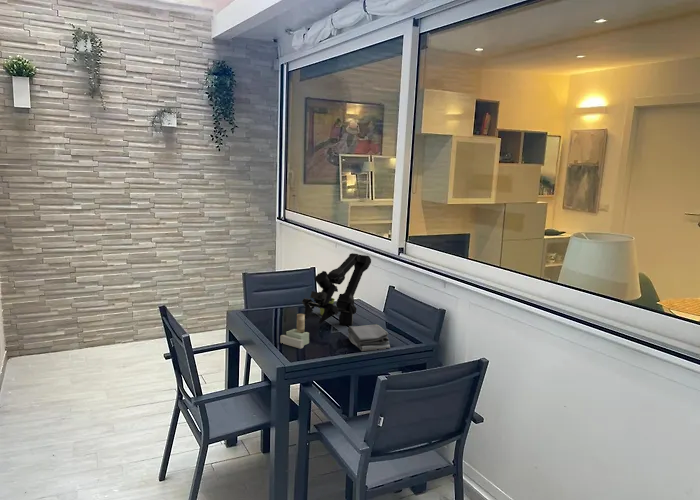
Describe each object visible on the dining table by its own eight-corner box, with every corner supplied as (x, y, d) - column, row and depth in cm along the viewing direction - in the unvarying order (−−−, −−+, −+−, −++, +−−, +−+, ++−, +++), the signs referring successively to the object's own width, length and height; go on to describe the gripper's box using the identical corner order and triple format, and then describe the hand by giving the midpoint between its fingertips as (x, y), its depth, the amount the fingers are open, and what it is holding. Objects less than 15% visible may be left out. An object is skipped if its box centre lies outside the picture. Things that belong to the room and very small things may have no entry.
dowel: (305, 341, 233) (305, 313, 231) (303, 343, 230) (303, 316, 228) (297, 340, 234) (298, 313, 232) (295, 342, 230) (295, 315, 228)
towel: (376, 337, 243) (377, 321, 242) (391, 349, 225) (391, 333, 224) (346, 339, 238) (346, 323, 237) (359, 352, 221) (359, 335, 220)
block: (294, 339, 235) (294, 328, 234) (309, 343, 230) (309, 332, 229) (286, 342, 230) (286, 331, 230) (301, 346, 225) (301, 335, 225)
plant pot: (315, 315, 275) (315, 300, 273) (321, 311, 284) (321, 296, 282) (331, 317, 272) (331, 302, 271) (336, 313, 281) (337, 298, 280)
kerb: (283, 342, 231) (283, 334, 231) (303, 347, 224) (303, 340, 224) (280, 343, 230) (280, 335, 229) (300, 348, 223) (300, 341, 222)
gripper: (304, 281, 244) (289, 308, 237) (335, 287, 234) (320, 315, 227) (314, 294, 252) (299, 320, 245) (344, 300, 241) (330, 328, 234)
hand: (312, 321), depth 237 cm, fingers open, 9 cm apart
